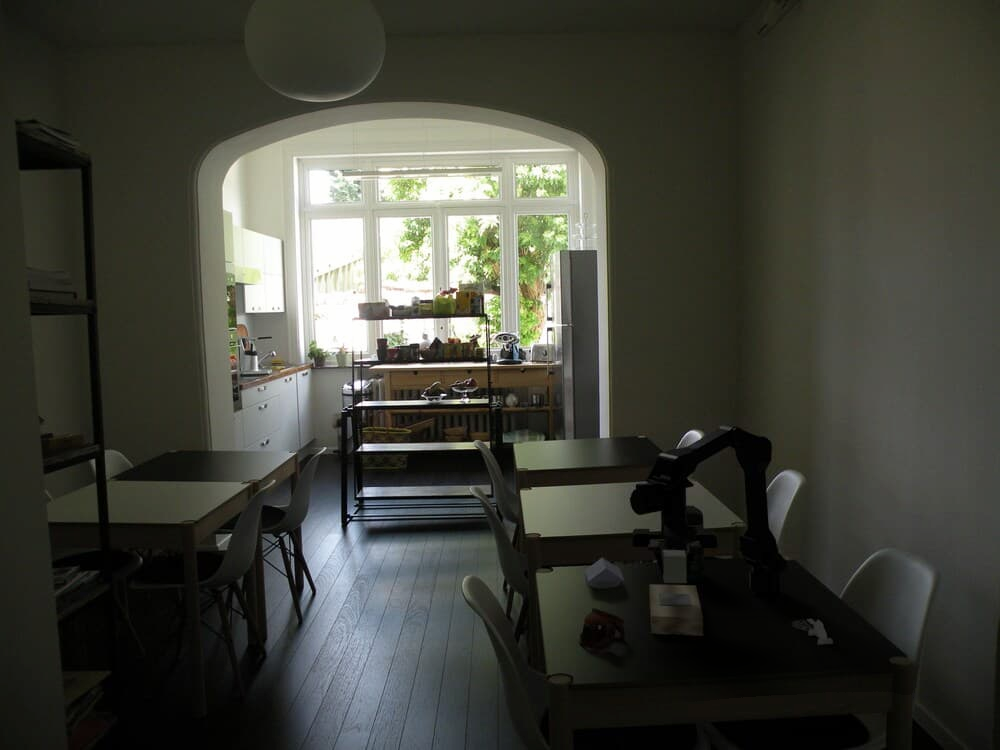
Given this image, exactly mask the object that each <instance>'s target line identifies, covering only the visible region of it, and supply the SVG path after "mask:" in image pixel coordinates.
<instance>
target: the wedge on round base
mask: <svg viewBox="0 0 1000 750" xmlns="http://www.w3.org/2000/svg"><path fill="white" fill-rule="evenodd" d="M584 574H585V584H586V585H587V586H588V585H589V586H588V587H590V586H591V588H594V587H595V589H612V587H613V588H615V587H618V586H620V585H621V582H623V581H625V579H624V576H623V574H622V571H621V569H620V568H619V567H618V566H615V565H614V564H613V563H612V562H610V561H608V560H607V559H605V558H604V557H601V558H599V559H598V560H596V562H595V563H593V564H592V565H589V566H587V567H586V568H585V572H584Z"/></svg>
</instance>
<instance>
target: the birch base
mask: <svg viewBox="0 0 1000 750" xmlns="http://www.w3.org/2000/svg"><path fill="white" fill-rule="evenodd" d="M648 589H649V613H650V624H651V625H650V628H651V629H652V630H651V635H669V634H676V636H699V637H700V636H701V637H702V636H704V615H703V612H702V606H701V603H700V598H699V594H698V591H697V590H698V589H697V585H695V584H694V585H690V584H689V585H687V584H681V585H680V584H652V583H651V584H650V583H649V588H648ZM655 633H656V634H655ZM680 634H681V635H680Z"/></svg>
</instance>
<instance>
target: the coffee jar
mask: <svg viewBox="0 0 1000 750" xmlns="http://www.w3.org/2000/svg"><path fill="white" fill-rule="evenodd" d="M686 519H687V526H695V534H697V531H698V529H704V513H703V512H702V510H701V509H700V508H697V507H696V506H695V505H686ZM672 550H685V554H687V548H686V549H672ZM704 550H705V548H703V547H702V551H698V552H697V553H696V555H695V556H694V558H693V561H692V564H691V567H690V570H689V573H688V575H687V583H688V582H689V583H690V582H691V583H692V582H693V583H694V582H696V581H702V580H703V579H704V575H705V574H704V573H705V572H704V570H705V567H704V566H705V565H704V562H705V561H704V560H705V559H704V556H705V554H704V553H705V551H704Z"/></svg>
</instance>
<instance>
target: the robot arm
mask: <svg viewBox="0 0 1000 750" xmlns="http://www.w3.org/2000/svg"><path fill="white" fill-rule="evenodd" d="M728 447H730V448H732V449H733V450H734V452H735V457H736V460H737V462H738V463H739V466H740V467H741V469H742V470H743V475H744V492H745V493H744V494H745V507H746V520H747V523H746V525H747V527H746V529H745V532H744V534H741V535H739V538H738V539H739V543H740V544H739V552H741V554H742V557H743V558H744V560H745V564H746V565H747V566H751V570H749V573H748V575H749V578H748V579H749V581H748V582H749V588H750V590H751V591H752V593H753V595H754V596H761V597H763V596H766V597H767V596H769V597H771V596H772V597H781V596H782V592H781V573H783V571H786V569H787V565H788V561H787V560H786V559H785V558H784V556H783V555H781V554H780V553H781V552H779V547H778V544H777V539H776V538H775V536H774V534H773V532H772V531H771V529H770V526H769V511H768V509H769V507H768V506H769V505H768V492H767V475H766V473H767V472H766V470H767V469H768V467H769V466H770V464H771V462H772V451H773V446H772V442H771V440H770V438H768V437H766V436H762V435H755V434H753V433H752V432H751V433H750V432H749V431H746V430H744V429H742V428H740V427H739V426H735V425H730V424H723V425H720V426H719V427H718V428H717V429H715V430H714V431H712V432H710V433H708V434H706V435H705V436H703V437H701V438H700V439H697V440H696V441H694V442H692V443H690V444H689V445H687V446H684V447H679V448H678V447H677V448H673V449H668V450H667V451H666V450H665V451H663V452H661V453H659V454H658V456H657V457H656V461H655V463H654V465H653V467H652V468H651V470H650V472H649V474H648V475H647V476H648V477H647V478H646V482H644V483H643V482H642V483H639V482H638V483H636V484H635V489H634V490H633V491H631V494H630V497H629V503H630V507H631V509H632V511H633V512H634V513H635V514H636V515H638V516H643V515H648V514H652V513H658V512H660V531H661V532H660V533H655V532H650V531H651V530H650V528H634V529H633V530H632V547H635V548H646V549H647V551H651V552H652V553H653V555H654V557H655V559H656V562H657V564H658V567H659V570H660V573H661V576H663V575H664V568H663V554H662V550H661V544H660V543H664V548H665V550H673V549H686V548H687V554H686V574H687V575H688V573H689V570H690V567H691V564H692V561H693V558H694V556H695V555H696V553H697V552H698V551H702V547H703V548H704V549H716V548H718V536H717V534H716V531H714V530H713V529H712V528H711V529H710V528H709V529H708V528H707V529H698V531H697V534H695V526H687V519H686V506H687V488H689V489H690V488H693V487H694V483H693V482H692V481H690V480H689V477H690V476H691V475H692V474H693V473H695V471H696V469H697V466H698V465H700V464H701V463H703V462H704V461H706V460H708V459H710V458H711V457H713V456H714V455H717V454H718V453H720V452H722V451H723V450H725V449H727V448H728Z"/></svg>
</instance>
